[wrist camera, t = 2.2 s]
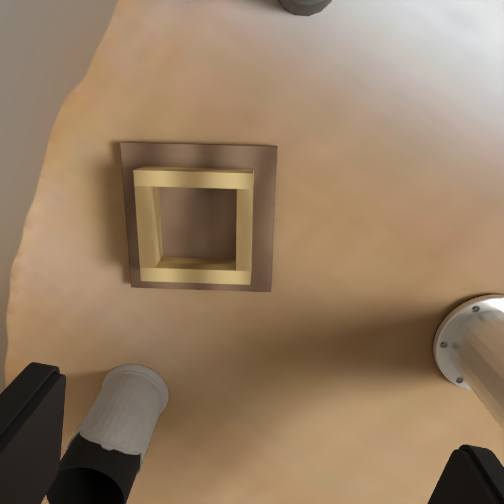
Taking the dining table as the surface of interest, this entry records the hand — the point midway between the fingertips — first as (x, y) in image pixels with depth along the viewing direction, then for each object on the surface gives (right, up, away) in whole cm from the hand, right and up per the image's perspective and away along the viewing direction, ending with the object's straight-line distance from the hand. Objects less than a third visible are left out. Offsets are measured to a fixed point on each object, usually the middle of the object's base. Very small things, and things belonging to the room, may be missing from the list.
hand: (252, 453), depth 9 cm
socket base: (-6, +8, +34) cm, 36 cm away
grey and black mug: (-16, -16, +43) cm, 49 cm away
